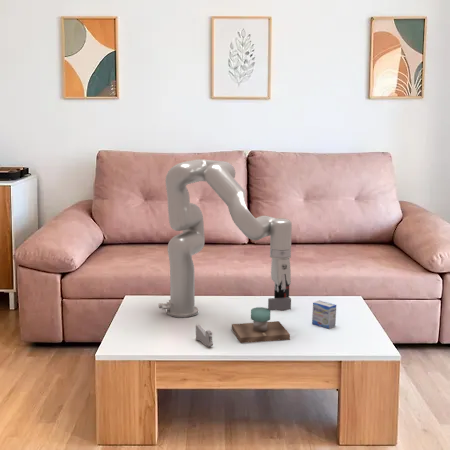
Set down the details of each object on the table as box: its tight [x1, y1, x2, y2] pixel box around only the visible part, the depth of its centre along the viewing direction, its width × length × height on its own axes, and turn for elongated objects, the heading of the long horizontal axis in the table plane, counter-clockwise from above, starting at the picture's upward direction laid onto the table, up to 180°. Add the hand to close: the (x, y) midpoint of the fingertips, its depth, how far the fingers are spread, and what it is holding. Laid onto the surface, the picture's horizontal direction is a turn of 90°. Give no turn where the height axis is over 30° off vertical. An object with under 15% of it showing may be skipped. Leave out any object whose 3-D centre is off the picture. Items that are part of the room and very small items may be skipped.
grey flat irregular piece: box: [195, 323, 214, 348], centre depth 239 cm, size 6×1×10 cm
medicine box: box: [311, 300, 337, 330], centre depth 258 cm, size 8×4×9 cm, turn 47°
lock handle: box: [250, 296, 292, 322], centre depth 248 cm, size 14×7×7 cm, turn 102°
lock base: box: [231, 320, 291, 344], centre depth 248 cm, size 18×14×6 cm
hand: (279, 301), depth 252 cm, fingers closed
